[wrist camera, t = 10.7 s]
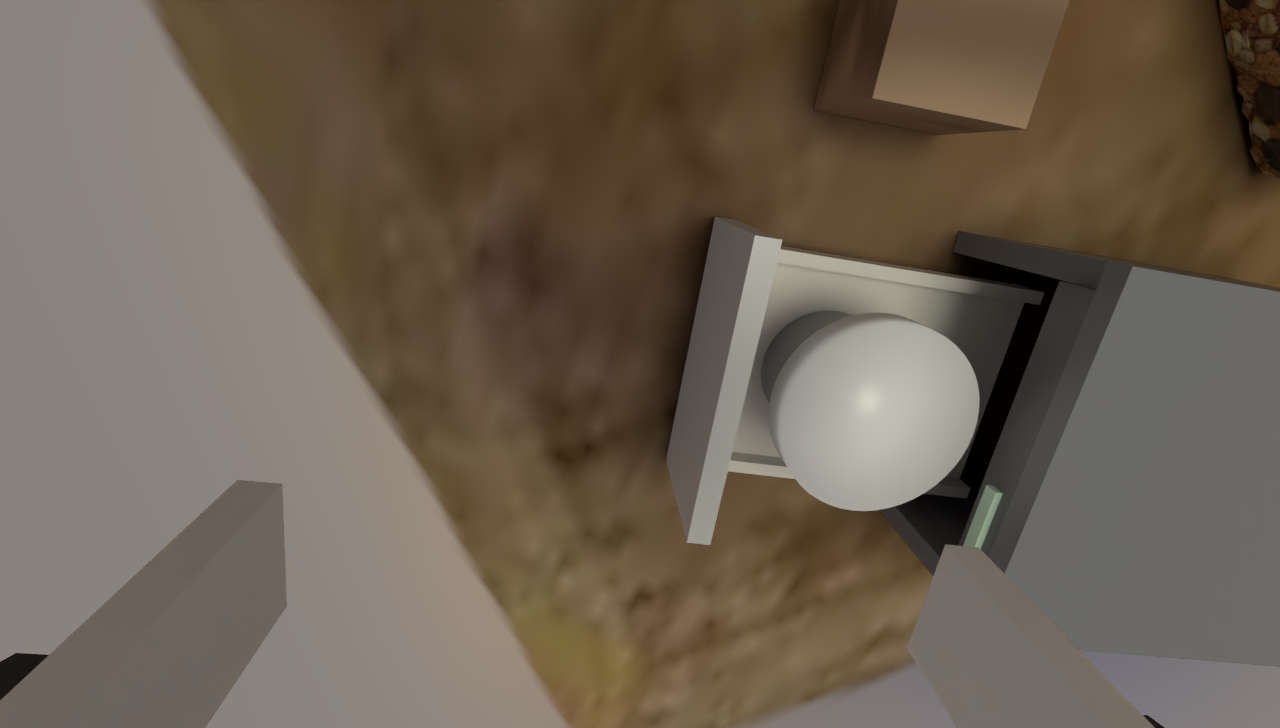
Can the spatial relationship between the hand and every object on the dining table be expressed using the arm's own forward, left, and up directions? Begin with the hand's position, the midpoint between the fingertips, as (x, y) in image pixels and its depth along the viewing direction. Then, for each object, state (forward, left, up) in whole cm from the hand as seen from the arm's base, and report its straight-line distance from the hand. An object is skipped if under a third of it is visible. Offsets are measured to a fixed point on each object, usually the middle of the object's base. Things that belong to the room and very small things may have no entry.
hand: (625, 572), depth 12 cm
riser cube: (-14, +11, -19) cm, 26 cm away
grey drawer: (0, +12, -18) cm, 22 cm away
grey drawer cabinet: (0, +24, -19) cm, 30 cm away
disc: (0, +11, -13) cm, 16 cm away
